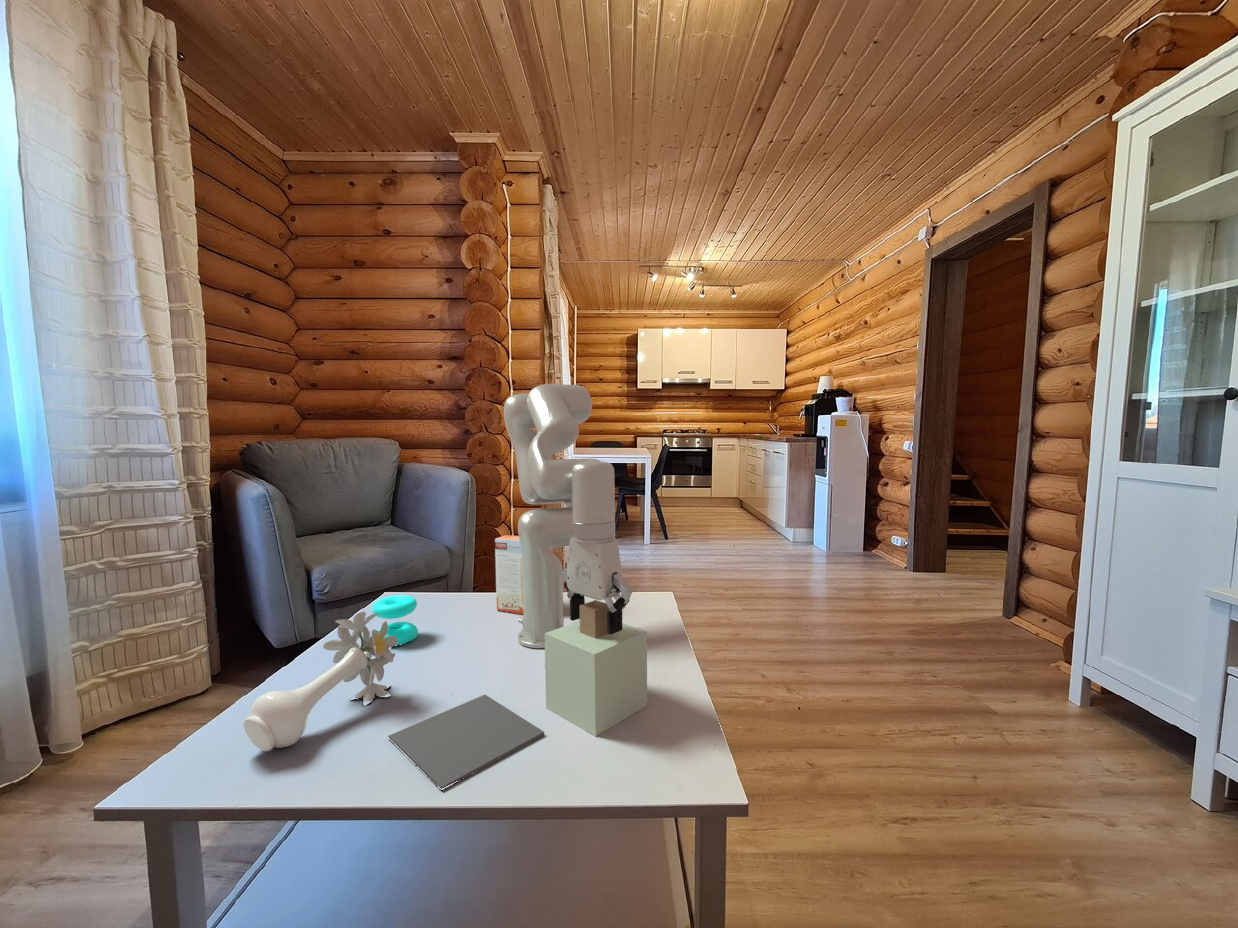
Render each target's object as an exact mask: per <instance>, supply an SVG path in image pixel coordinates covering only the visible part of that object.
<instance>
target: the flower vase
mask: <svg viewBox="0 0 1238 928" xmlns="http://www.w3.org/2000/svg"><path fill="white" fill-rule="evenodd" d="M378 614H379V613H375V614H373V613H372V614H370V615H369V616H367V613H366V612H365V611H360V612H358V613H356V614H355V616H354V617H353V621H352V620H351V619H346V618H345V619H344V618H343V619H337V620H335V623H337V624H339V625H338V626H337V636H338V638H339V639H331V640H328V641H326V642H325V643H324V644H323V645H322V646H323V649H324V650H326V651H330V652H331V651H333V652H334V651H336V652H335V654H334V655H333V660H332V662H333V664H334V666H332V667H331V668H330V669H328V670H327V671H324V673H323V674H321V675H320V676H318V677H316V678H315V679H314V680H312V681H311V682H309V683H307V684H306V685H303V686H301V687H298V688H295V689H292V690H273V691H268V692H267V693H264V694H262V695H260V696H258V697H257V698H256V699H255V701H254V702H253V704H252V706H251V708H250V710H249V711H250V712H249V716H247V717H246V718H245V720H244V721H243V729H244V732H245V734H246V736H247V737H248V739H249V740H250V742H251V743H252V744H253V745H254V746H255V747H256V748H257V749H259V750H260V751H263V752H270V751H271V750H273V748H275V747H276V748H277V749H283V747H284V748H287V747H290V746H294V744H296V743H297V742H298V741H299V739H300V738H301V737H302V736H303V734H304V732H305V730H306V726H307V724H308V723H307V722H308V718H309V716H310V713H311V712H312V710H313V708H315V706H316V705H317V703H319V701H320V700H321V699H323V697H324V696H326V695H327V694H328V693H329V692H330V691H331V690H333V689H335V688H336V686H337V685H339V684H340V683H341V682H342V681H343V682H344V683H350V682H352V681H353V680H355V679H356V678H357V677H359V678H360V681H361V682H362V684H363V685H364V686H365V687H364V688H362V690H360V691H359V692H358V693H356V694H355V695H354V696H355V698H360V699H361V698H362V699H363V701H365V702H367V701H371V700H372V699H373V698H374V699H375V697H378V696H379V697H378V698H380V696H385V695H387V694H388V693H389V692H388V691H386V690H387V689H386V688H387V686H386V685H387V684H385V685H384V684H378V683H376V682H375V683H374V679H375V678H376V680H377V681H378V682H381V681H382V680H383V678H384V675H385V669H384V666H385V665H387V664H389V663H393V662H394V658H395V657H396V653H395V652H392V651H391V649H392V648H393V646H395V645H396V644H397V643H398V639H397V638H396V637H395V636H388V637H385V636H386V635H387V632H388V624H389V623H388V622H387V621H384V622H383V623H382V624H381V626H380V627H381V629H380V630H378V629H377V630H378V631H377V630H376V629H372V630H371V634H370V631H369V629H368V627H367V626H366V625H367V624H368V623H370V622H371V621H372V619H373V620H374V618H375V617H377V615H378ZM350 630H351V631H352V632H350ZM384 637H385V638H384ZM358 639H360V643H361V644H360V645H359V644H358V642H357V641H358ZM372 657H375V658H372ZM384 689H385V690H384ZM375 695H376V696H375Z"/></svg>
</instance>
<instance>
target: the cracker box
mask: <svg viewBox="0 0 1238 928" xmlns="http://www.w3.org/2000/svg"><path fill="white" fill-rule="evenodd" d="M494 546H495V547H494V551H495V552H494V554H495V555H494V557H495V588H496V589H495V593H496V596H495V597H496V611H497V610H500V611H499V612H503V611H505V612H504V613H509V612H511V613H512V614H517V615H522V616H523V614H524V597H523V563H522V551H521V545H520V539H519V535H502V536H499V537H496V538H494Z"/></svg>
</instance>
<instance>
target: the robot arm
mask: <svg viewBox="0 0 1238 928" xmlns="http://www.w3.org/2000/svg"><path fill="white" fill-rule="evenodd" d="M592 400H593V399H592V398H591V394H590V392H589V391H588V390H587V388H585V387H584V386H582V385H579V384H559V383H557V384H556V383H545V384H544V383H543V384H539V385H536V386H535V387H533V388H532V389H531V390H530V391H529V392H528V393H527V392H526V393H517V394H513V395H511V396H509V397H508V398H507V399H506V400H505V402H504V406H503V420H504V425H505V429H506V432H507V435H508V437H509V439H510V442H511V443H512V446H513V449H514V453H515V458H516V459H515V460H516V468H517V476H518V477H517V478H518V479H517V480H518V485H519V491H520V492H519V493H520V496H521V499H522V501H523V502H524V503H526V504H529V505H552V504H564V507H549V508H548V507H545V508H539V509H538V508H536V509H531V510H527V511H525V512H524V513H522V515H520V516H519V518H518V521H517V533H518V536H519V539H520V545H521V551H522V563H523V597H524V614H523V615H522V617H519V618H518V620H517V622H518V623H519V624H521V625H522V630H520V632H519V633H518V634H517V642H518V643H519V644H520V645H522V646H524V647H526V648H532V649H545V633H547V632H550V631H553V630H555V629H558V628H561V627H564V626H565V625H564V624H565V623H564V621H565V620H564V618H565V616H564V615H565V614H564V588H565V590H566V592H567V593H566V596H567V598H568V599H569V619H570V621H572V622H574V621H576V620H580V605H582V604H585V603H586V601H585V599H586V598H585V597H588V598H590V599H593V600H597V601H602V600H604V601H605V602H604V603H606V604H607V606H608V608H609V609H610V611H607V632H608V634H610V635H611V634H614V633H616V632H619V631H621V630H622V623H623V609H626V606H627V604H629V603H630V599H631V597H632V594H633V592H634V589H633V587H632V586H631V585H630V584H629V583H628V582H626V580H625V579H623V577H622V565H621V557H620V549H619V544H618V539H616V508H615V507H616V504H615V503H616V500H615V497H616V496H615V495H616V494H615V492H616V491H615V468H614V466H613V464H612V463H611V462H608V461H601V460H600V459H597V458H564V459H563V458H558V459H552V457H551V456H553V455H556V454H558V453H560V452H563V451H564V450H567V449H568V448H570V447H571V446H572V445H573V444H574V443H575V442H576V441H577V439H578V437H579V433H580V427H579V425H580V424H582V423H585V422H586V421H587V420H589V418H590V417H591V414H592V410H593V401H592ZM534 429H536V431H535V430H534ZM563 547H568V550H567V551H568V552H567V559H566V560H567V561H566V563H567V564H566V568H565V569H563V565H562V562H561V560H560V559H559V558H558V557H557V555H556V554H554V553H553V549H557V548H563ZM612 598H613V599H614V600H615V602H614V600H613V599H612Z"/></svg>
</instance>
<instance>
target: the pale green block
mask: <svg viewBox="0 0 1238 928" xmlns="http://www.w3.org/2000/svg"><path fill="white" fill-rule="evenodd" d="M607 611H610V609H609V608H608V606H607V604H606V602H602V601H601V600H597V599H593V600H592V601H589V602H585V604H582V605H580V619H579V620H578V621H575V622H573V623H570V624H566V625H564V627H561V628H558V629H555V630H553V631H550V632H547V633H545V648H544V666H545V667H544V670H545V672H544V673H545V674H544V675H545V707H546V709H547V710H549V711H550V712H553V713H554V714H556V715H558V716H559V717H560V718H562V719H564V720H566V721H568V722H570V723H571V724H573V725H575V726H577V727H578V728H580V729H582V730H584V731H585V732H587V733H589V734H590V735H592V736H594V737H595V738H596V737H597V736H599V735H601V734H602V733H604V732H605V731H608V730H609V729H611V728H612V727H614V726H616V725H618V724H619V723H621V722H622V721H624V720H626V719H628V718H629V717H631V716H632V715H634V714H636V713H637V712H639V711H641V710H642V709H644V708H646V707H647V706H648V652H647V651H648V644H647V643H648V641H647V640H648V639H647V637H648V636H647V630H645V629H640V628H638V627H635V626H632V625H629V624H627V623H623V622H622V630H621V631H619V632H616V633H614V634H611V635H610V634H608V632H607Z"/></svg>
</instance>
